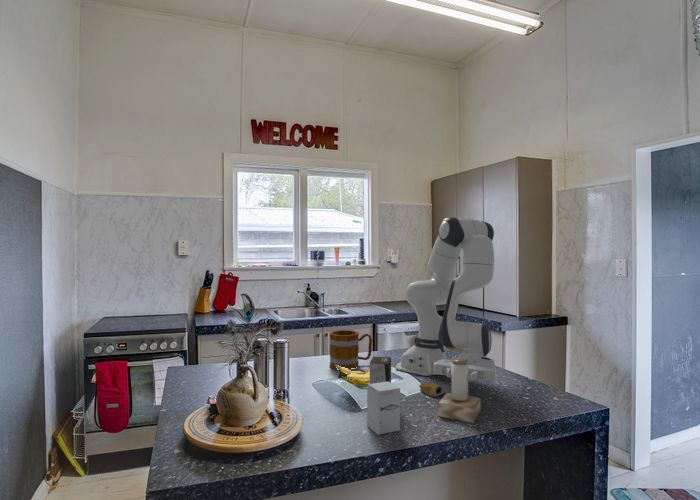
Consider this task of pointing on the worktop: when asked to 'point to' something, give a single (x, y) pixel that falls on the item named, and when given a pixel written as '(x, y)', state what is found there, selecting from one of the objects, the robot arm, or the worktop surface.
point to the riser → (459, 408)
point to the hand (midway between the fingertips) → (459, 376)
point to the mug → (346, 348)
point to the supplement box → (383, 407)
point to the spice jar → (459, 379)
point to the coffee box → (380, 370)
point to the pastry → (432, 389)
